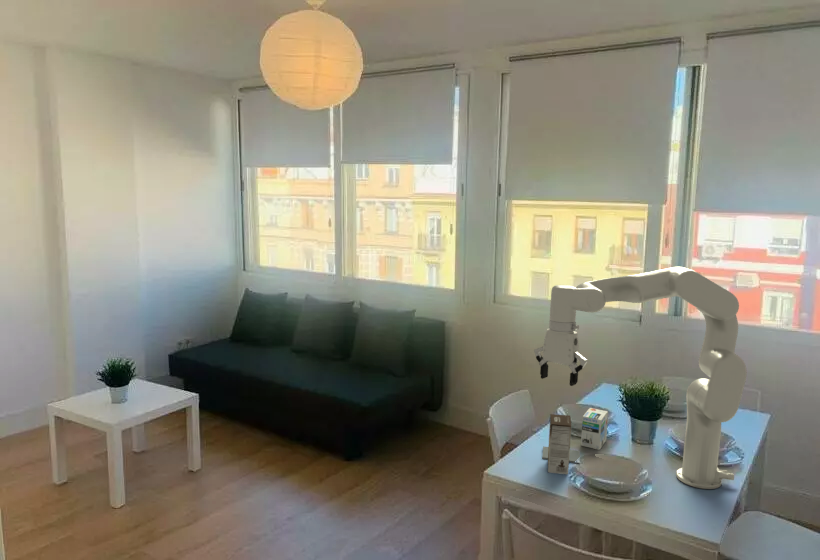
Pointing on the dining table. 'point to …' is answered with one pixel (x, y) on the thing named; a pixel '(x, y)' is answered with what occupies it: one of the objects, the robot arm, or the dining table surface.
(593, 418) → the light bulb box
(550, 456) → the coffee box
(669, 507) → the dining table surface
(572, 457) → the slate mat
